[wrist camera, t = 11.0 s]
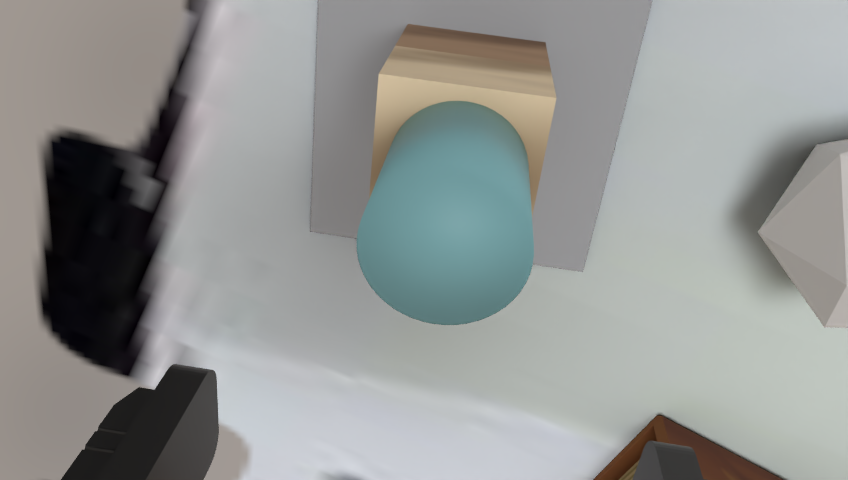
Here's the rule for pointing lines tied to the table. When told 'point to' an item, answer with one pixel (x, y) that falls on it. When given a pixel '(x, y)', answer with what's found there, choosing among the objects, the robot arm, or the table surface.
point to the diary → (719, 466)
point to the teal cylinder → (450, 216)
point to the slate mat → (493, 15)
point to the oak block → (464, 98)
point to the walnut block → (474, 44)
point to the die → (815, 232)
